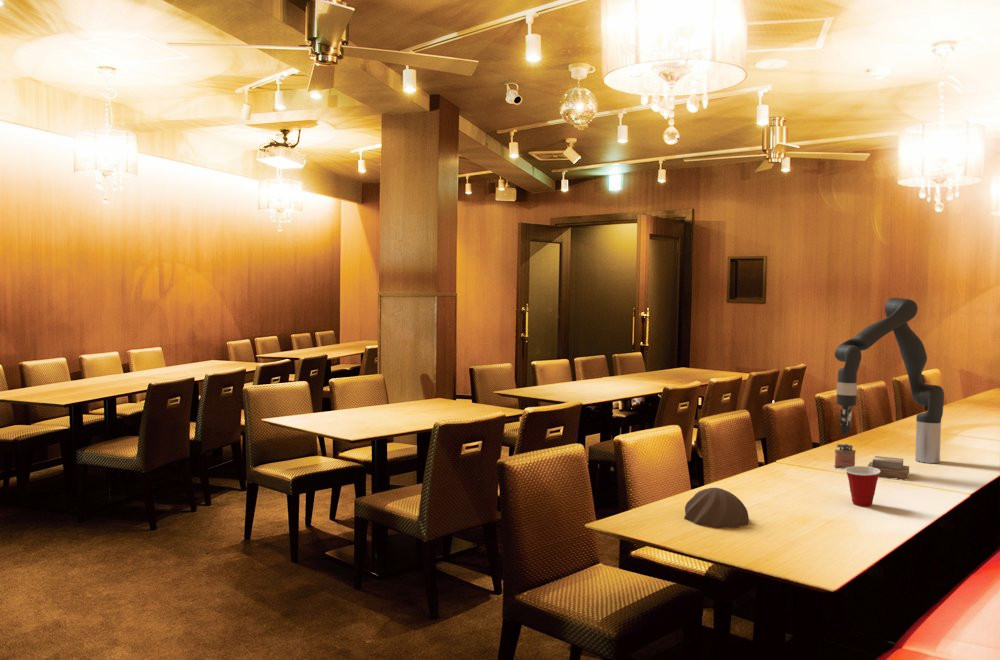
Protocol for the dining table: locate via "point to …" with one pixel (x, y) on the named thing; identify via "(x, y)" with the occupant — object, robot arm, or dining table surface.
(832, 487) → the dining table surface
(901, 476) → the plinth
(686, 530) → the dining table surface
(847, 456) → the lighter
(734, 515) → the decorative dome
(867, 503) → the plastic cup
